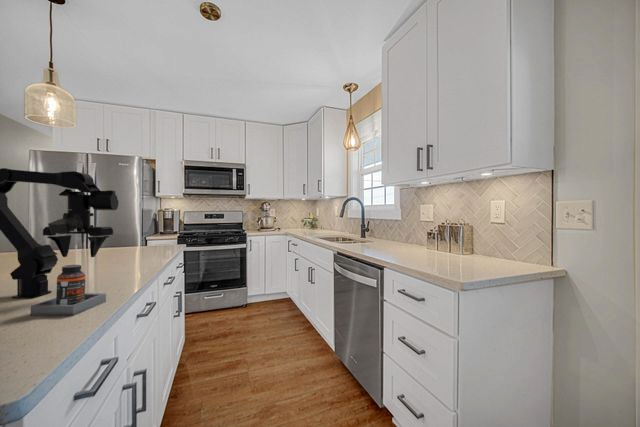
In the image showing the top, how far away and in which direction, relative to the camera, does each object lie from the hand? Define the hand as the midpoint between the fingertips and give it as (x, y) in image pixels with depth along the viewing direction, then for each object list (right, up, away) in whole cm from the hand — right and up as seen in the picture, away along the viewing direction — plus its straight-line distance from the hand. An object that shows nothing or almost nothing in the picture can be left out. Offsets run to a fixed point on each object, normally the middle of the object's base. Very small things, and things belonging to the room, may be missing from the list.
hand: (78, 256), depth 90 cm
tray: (+10, -12, -14) cm, 21 cm away
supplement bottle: (+10, -12, -14) cm, 21 cm away
